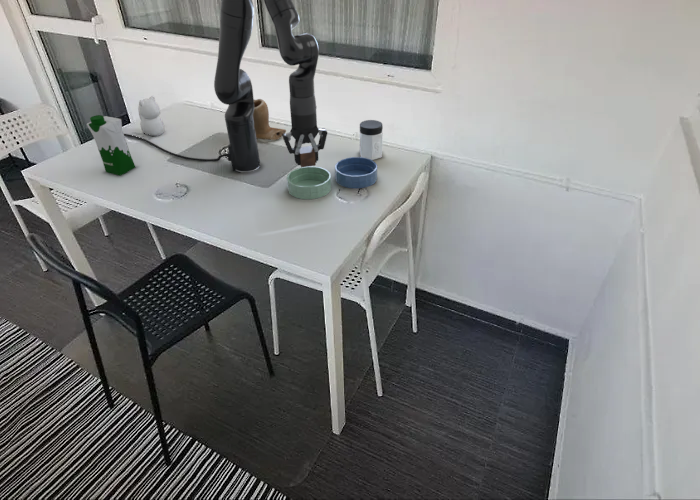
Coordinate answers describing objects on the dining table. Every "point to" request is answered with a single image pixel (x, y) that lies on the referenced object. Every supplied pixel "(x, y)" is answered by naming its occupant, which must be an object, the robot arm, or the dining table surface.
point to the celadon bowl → (309, 182)
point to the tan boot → (264, 122)
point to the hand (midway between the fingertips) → (306, 162)
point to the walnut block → (307, 156)
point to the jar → (371, 139)
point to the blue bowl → (356, 172)
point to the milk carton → (111, 144)
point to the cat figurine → (150, 117)
